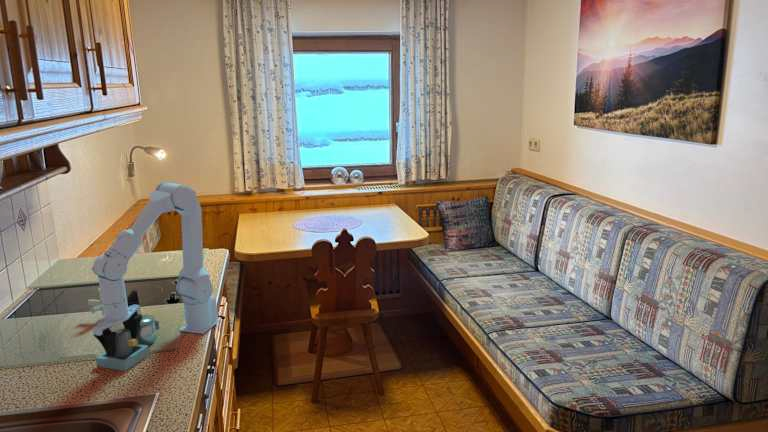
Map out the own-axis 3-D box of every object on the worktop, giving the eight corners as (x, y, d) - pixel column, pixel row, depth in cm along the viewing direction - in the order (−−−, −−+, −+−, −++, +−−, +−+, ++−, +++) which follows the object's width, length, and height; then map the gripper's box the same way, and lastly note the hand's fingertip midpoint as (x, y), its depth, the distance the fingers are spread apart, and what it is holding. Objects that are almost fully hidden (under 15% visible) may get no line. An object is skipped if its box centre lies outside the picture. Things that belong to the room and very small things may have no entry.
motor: (145, 332, 164) (142, 311, 162) (166, 334, 162) (163, 313, 160) (118, 349, 154) (115, 327, 152) (140, 352, 152) (137, 330, 150)
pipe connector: (109, 326, 168) (104, 295, 165) (80, 324, 170) (75, 293, 167) (130, 312, 177) (126, 283, 175) (103, 310, 179) (98, 281, 177)
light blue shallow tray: (122, 349, 154) (120, 341, 153) (149, 354, 151) (148, 345, 150) (97, 366, 145) (95, 357, 145) (125, 371, 143) (124, 362, 142)
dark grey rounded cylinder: (122, 354, 151) (118, 327, 149) (143, 357, 150) (139, 329, 147) (110, 363, 146) (105, 336, 144) (132, 366, 145) (127, 338, 143)
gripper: (122, 288, 152) (129, 333, 155) (79, 310, 138) (88, 359, 142) (143, 290, 150) (150, 336, 153) (102, 313, 136) (111, 363, 140)
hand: (122, 348), depth 147 cm, fingers open, 7 cm apart
